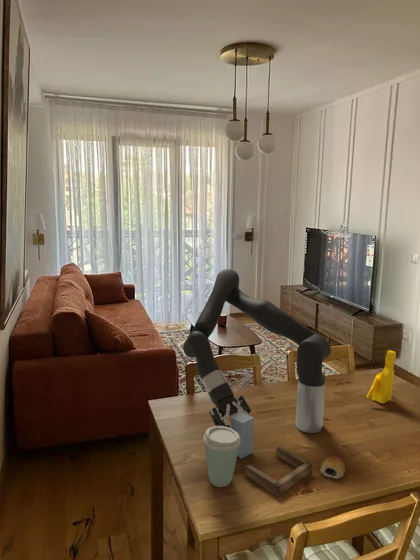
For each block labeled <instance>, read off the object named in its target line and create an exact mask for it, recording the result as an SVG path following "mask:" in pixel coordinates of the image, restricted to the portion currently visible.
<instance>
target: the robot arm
mask: <svg viewBox="0 0 420 560" xmlns="http://www.w3.org/2000/svg"><path fill="white" fill-rule="evenodd" d="M225 303H228V304H230V305H231V306H233V307H234V308H236V309H238V310H239V311H241V312H243V313H244V314H245V315H246V316H247V317H249V318H251V319H252V320H253V321H255V322H256V324H258V325H260V326H261V327H262V328H264V329H265V330H267V331H268V332H270V333H272V334H275V335H277V336H281V337H283V338H286V339H289V340H290V341H292V342H294V343H295V344H297V345H298V347H297V350H296V374H297V377H298V379H297V393H296V395H297V396H296V410H295V411H296V413H295V427H296V428H297V430H299V431H301V432H304V433H309V434H313V433H314V434H316V433H319V432H321V430H322V427H323V426H324V415H325V414H324V412H325V388H326V387H325V385H326V375H325V374H324V373H323V361H325V360H327V358H329V357H330V355H331V353H332V347H331V344H330V343H329V341H328V340H327V339H326V338H325V337H324V336H323V335H320V334H319V333H317V332H316V331H313V330H312V329H310V328H308V327H306V326H305V325H303V324H302V323H300V322H298V321H297V320H296V319H295V318H293V317H292V316H291V315H290V314H287V313H286V312H285V311H284V310H282V309H281V308H279V307H278V306H276V305H275V304H274V303H273V302H271V301H269V300H267V299H262V298H254V297H250V296H248V295H247V294H246V293H244V292H243V291H242V290H241V289H240V276H239V273H238V272H237V271H236V270H234V269H232V268H224V269H222V270H220V271H219V272H218V274H217V275H216V279H215V283H214V285H213V288H212V290H211V293H210V294H209V297H208V299H207V300H206V303H205V305H204V307H203V309H202V311H201V312H200V314H199V316H198V318H197V320H196V322H195V323H194V327H193V328H192V330H191V331H190V333H189V334H188V336H187V338H186V339H185V341H184V343H183V344H182V345H183V346H182V349H183V352H184V354H185V356H187V357H188V358H190V359H191V358H192V359H196V363H195V368H196V372H197V373H198V375H199V376H200V379H201V381H202V384H203V386H204V389H205V390H206V392H207V394H208V396H209V398H210V400H211V402H212V404H213V405H214V406H215V407H212V408H211V409H210V410H209V414H210V417H211V418H212V421H213V423H214V426H225V427H229V428H231V424H229V419H230V417H232V416H235V415H237V414H239V413H241V412H243V413H245V414H247V415H250V413H251V412H252V409H251V408H250V406H249V404H248V403H247V401H246V399H245V398H244V396H243V395H240V396H238V397H237V398H235V395H234V394H235V393H234V391H233V389H232V388H231V386H230V384H229V382H228V380H227V378H226V377H225V375H224V373H223V372H222V370H221V368H220V367H219V365H218V363H217V361H216V360H215V358H214V353H213V349H212V346H211V343H210V341H209V338H210V336H211V335H212V334H213V333H214V331H215V328H216V327H217V325H218V323H219V321H220V318H221V316H222V313H223V309H224V307H225Z"/></svg>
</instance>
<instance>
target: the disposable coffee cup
mask: <svg viewBox="0 0 420 560" xmlns="http://www.w3.org/2000/svg"><path fill="white" fill-rule="evenodd" d="M202 436H203V437H202V440H203V444H204V451H205V458H206V466H207V467H206V468H207V474H208V479H209V483H210V484H212V485H213V486H215V487H218V488H222V487H224V488H225V487H227V486H229V485H230V484H231V482H232V480H233V477H234V473H235V466H236V462H237V457H238V456H237V454H238V449H239V445H240V443H241V438H240V436H239V434H238V433H237V432H236V431H235V430H233V429H231V428H229V427H225V426H215V425H213V426H211V427H208V428H207V429H206V430H205V431H204V434H203V435H202Z"/></svg>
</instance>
